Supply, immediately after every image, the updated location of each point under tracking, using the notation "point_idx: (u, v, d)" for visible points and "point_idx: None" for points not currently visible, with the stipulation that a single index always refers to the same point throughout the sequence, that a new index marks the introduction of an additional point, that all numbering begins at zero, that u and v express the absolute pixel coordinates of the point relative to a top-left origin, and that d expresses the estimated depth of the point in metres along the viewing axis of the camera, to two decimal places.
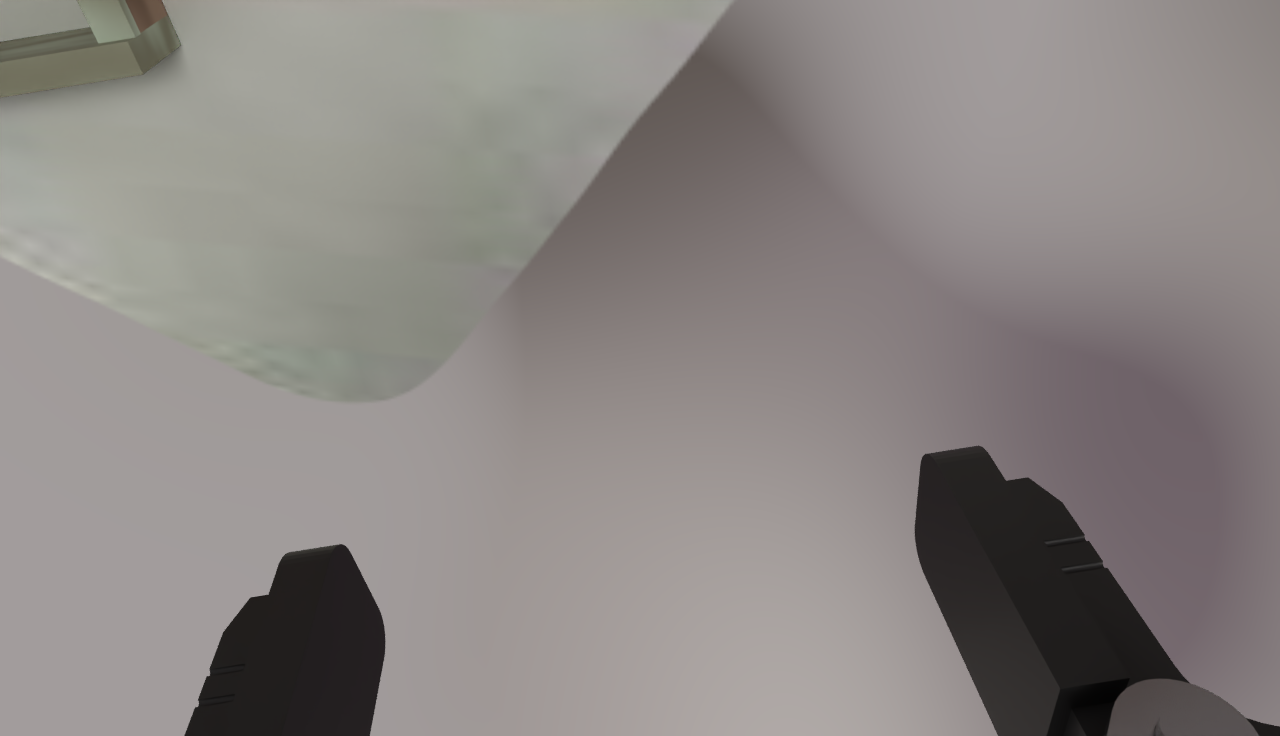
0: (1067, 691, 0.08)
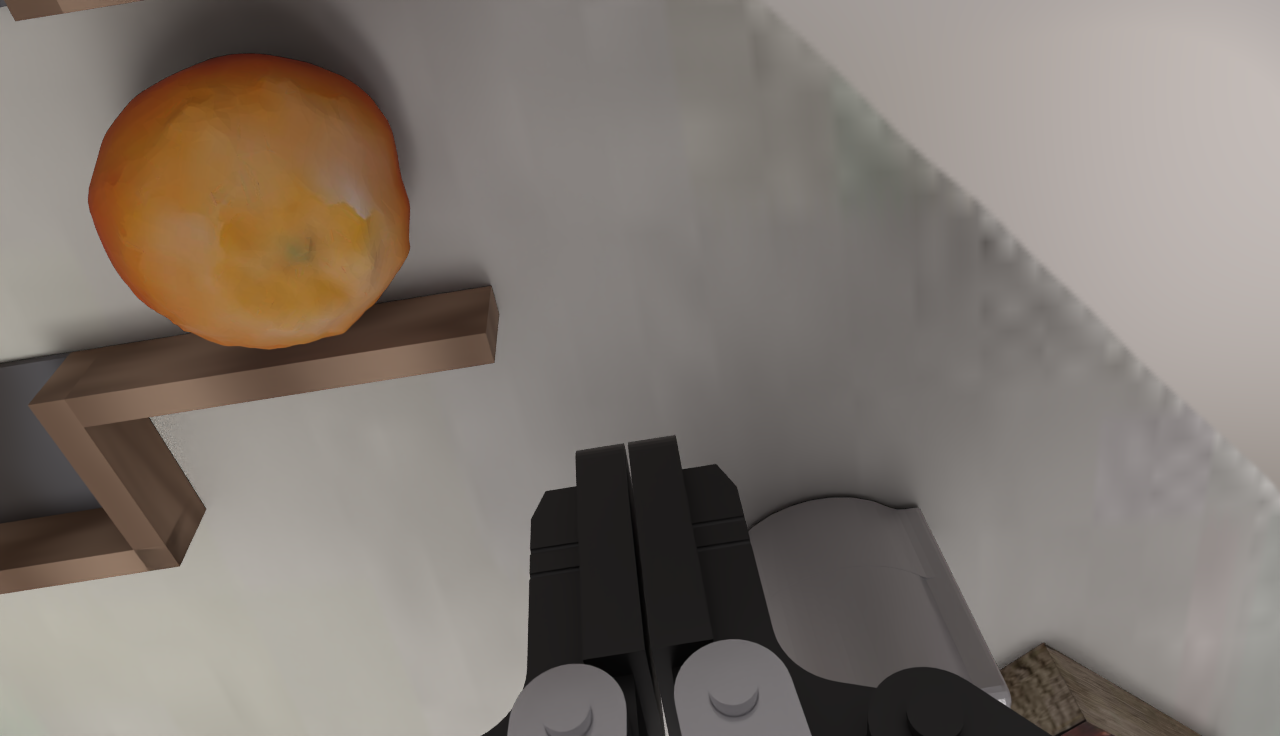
0: (659, 651, 0.09)
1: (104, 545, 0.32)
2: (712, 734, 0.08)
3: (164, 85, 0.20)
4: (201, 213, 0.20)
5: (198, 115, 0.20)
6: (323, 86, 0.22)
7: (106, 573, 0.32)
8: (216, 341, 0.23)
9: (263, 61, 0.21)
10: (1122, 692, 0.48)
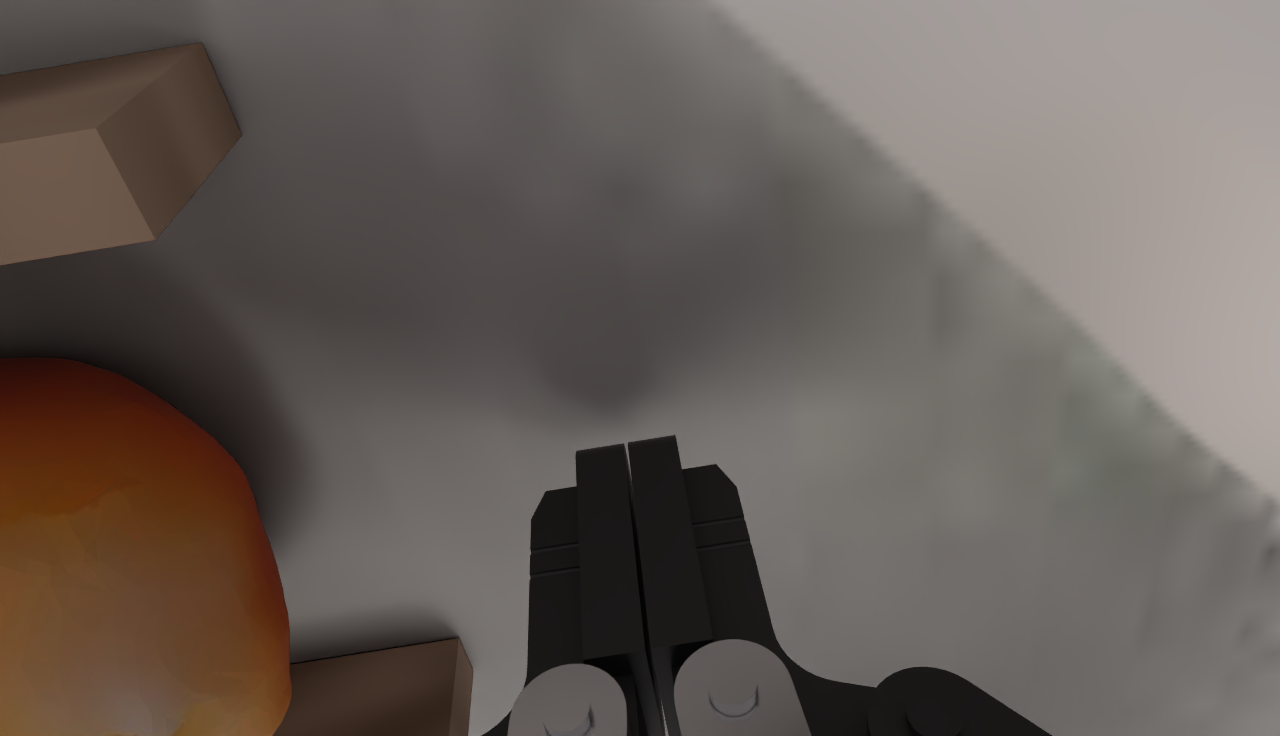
0: (659, 651, 0.09)
1: None
2: (712, 734, 0.08)
3: None
4: None
5: None
6: (65, 476, 0.10)
7: None
8: None
9: None
10: None
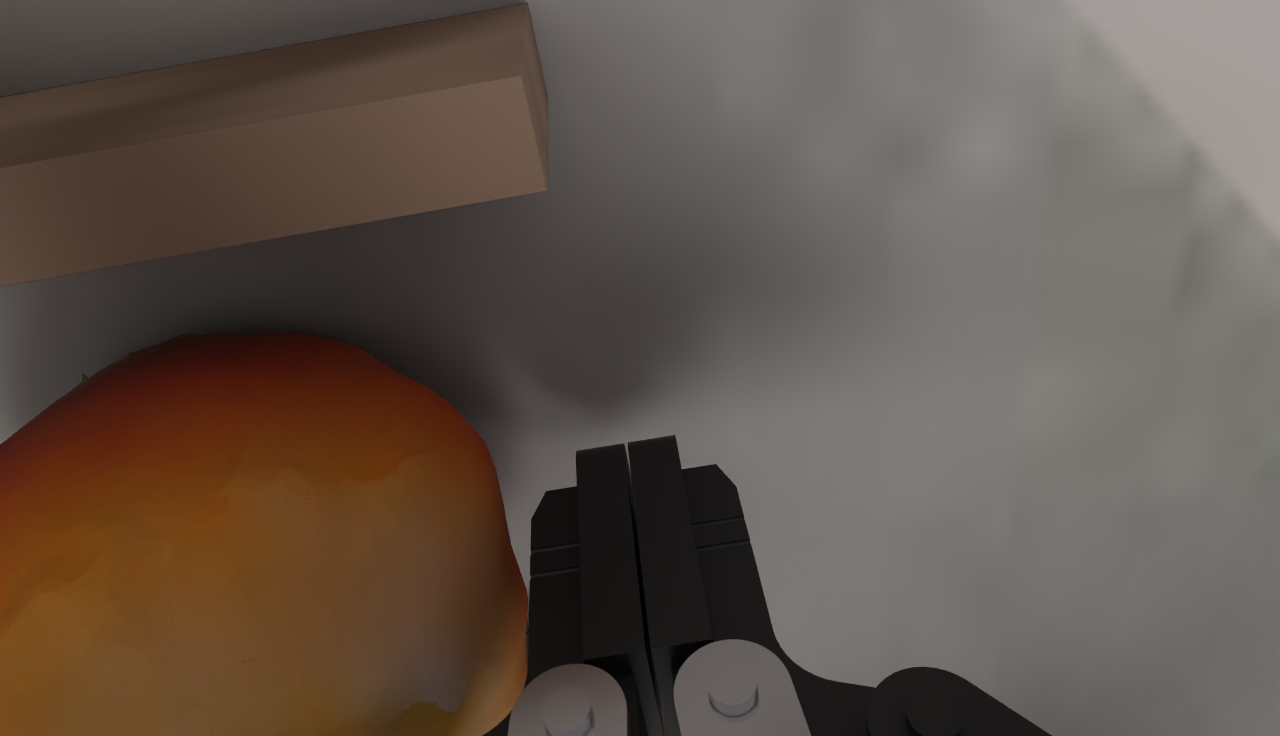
0: (659, 651, 0.09)
1: None
2: (712, 734, 0.08)
3: (0, 497, 0.09)
4: None
5: (66, 616, 0.08)
6: (365, 444, 0.10)
7: None
8: None
9: (232, 405, 0.10)
10: None
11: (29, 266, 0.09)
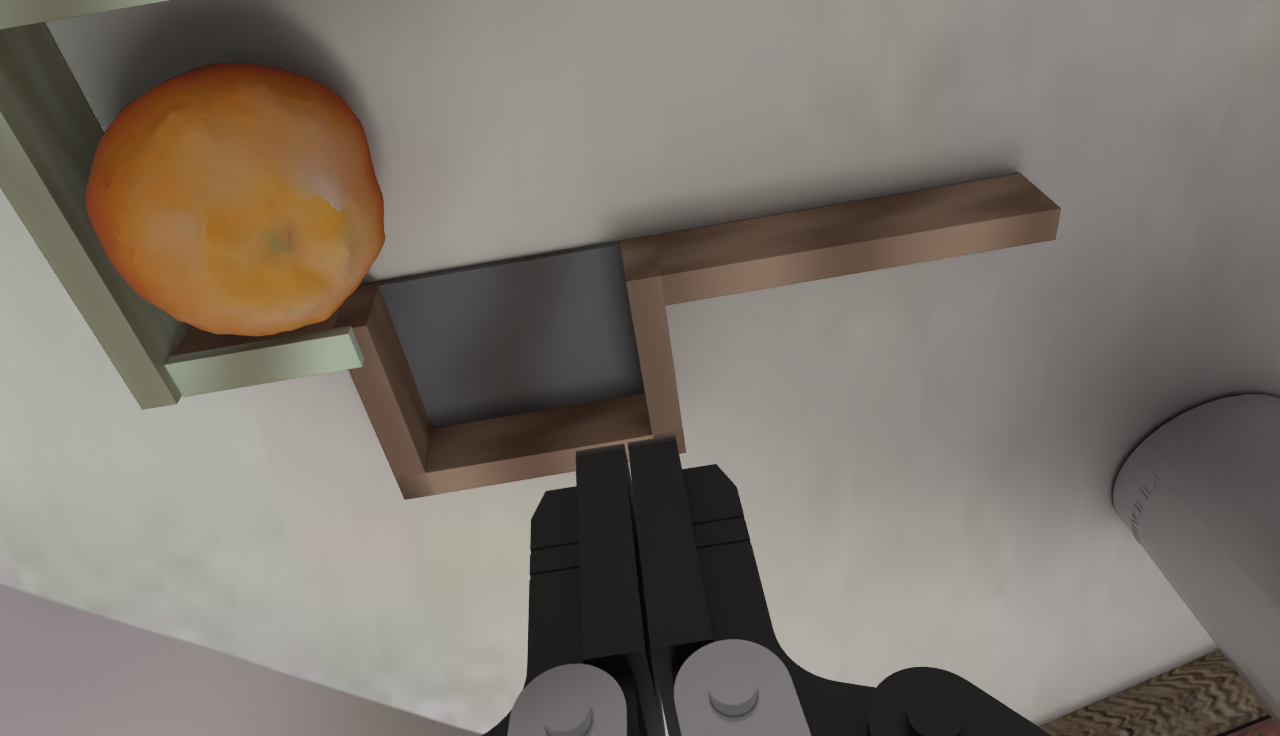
0: (659, 651, 0.09)
1: (618, 432, 0.33)
2: (712, 735, 0.08)
3: (150, 95, 0.22)
4: (188, 210, 0.22)
5: (180, 120, 0.21)
6: (296, 89, 0.24)
7: None
8: (209, 330, 0.25)
9: (240, 69, 0.23)
10: None
11: None
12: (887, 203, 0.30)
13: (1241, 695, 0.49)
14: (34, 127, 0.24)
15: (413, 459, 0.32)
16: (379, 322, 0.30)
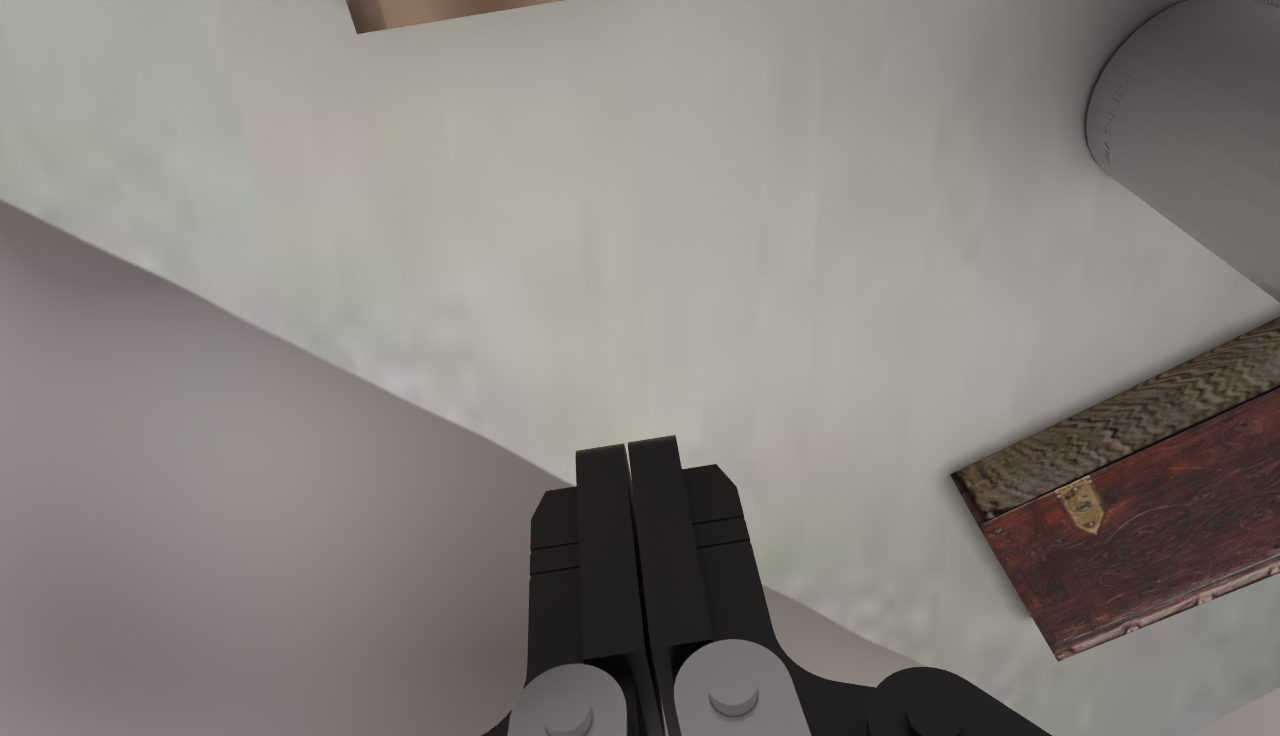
0: (659, 651, 0.09)
1: None
2: (712, 734, 0.08)
3: None
4: None
5: None
6: None
7: None
8: None
9: None
10: None
11: None
12: None
13: (1229, 384, 0.48)
14: None
15: None
16: None
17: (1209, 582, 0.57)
